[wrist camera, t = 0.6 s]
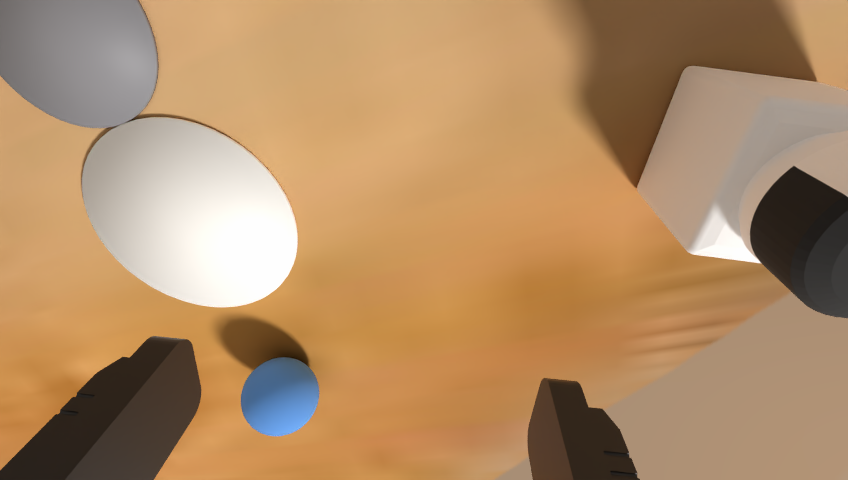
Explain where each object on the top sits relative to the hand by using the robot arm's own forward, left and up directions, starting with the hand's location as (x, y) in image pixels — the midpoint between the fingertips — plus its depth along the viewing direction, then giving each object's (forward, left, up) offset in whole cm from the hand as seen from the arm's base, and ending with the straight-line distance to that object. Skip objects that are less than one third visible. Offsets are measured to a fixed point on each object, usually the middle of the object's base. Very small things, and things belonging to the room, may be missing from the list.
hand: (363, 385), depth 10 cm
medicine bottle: (-3, +16, -18) cm, 24 cm away
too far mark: (-2, -20, -18) cm, 27 cm away
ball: (+21, -7, -15) cm, 26 cm away
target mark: (+9, -14, -18) cm, 24 cm away
